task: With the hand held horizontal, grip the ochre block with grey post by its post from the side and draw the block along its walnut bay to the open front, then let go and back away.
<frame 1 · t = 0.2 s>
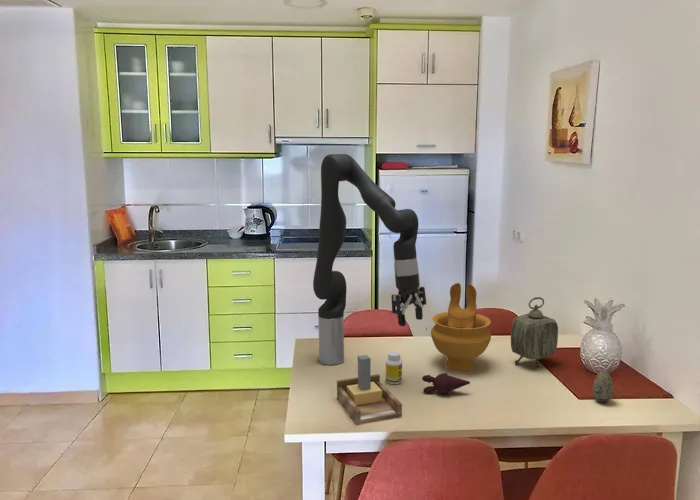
hand: (410, 322, 182), 22 cm above the table, tool pointing down, fingers open, 8 cm apart
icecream: (445, 393, 182), on the table
block with grey post: (364, 378, 174), point 8 cm above the table, slide at 0.0 cm
decorative bowl: (459, 365, 205), on the table
bay: (368, 407, 172), on the table
decorative egg: (602, 402, 175), on the table
supplement bottle: (393, 381, 191), on the table
tabletop clock: (533, 365, 204), on the table
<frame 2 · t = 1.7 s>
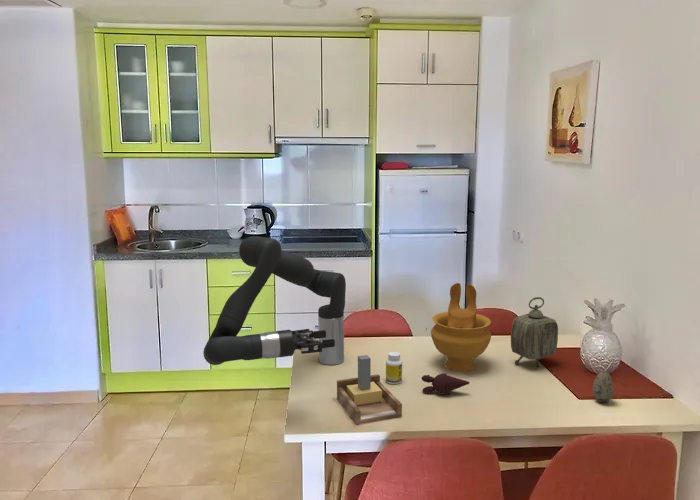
hand: (330, 338, 168), 22 cm above the table, tool horizontal, fingers open, 8 cm apart
nothing on the table moved.
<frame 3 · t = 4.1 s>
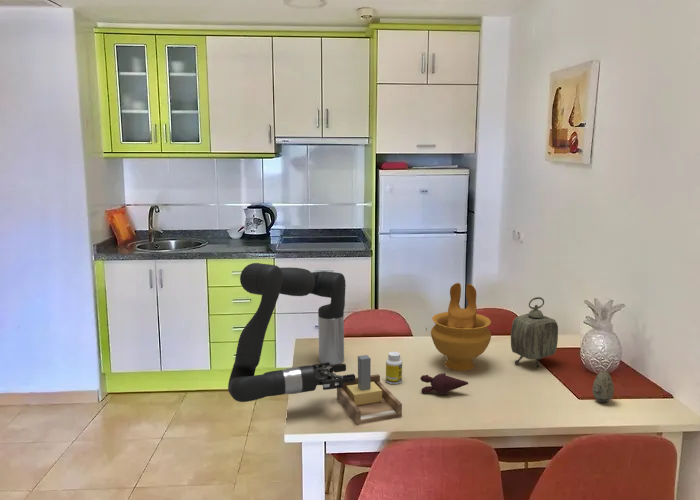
hand: (350, 372, 172), 10 cm above the table, tool horizontal, fingers open, 8 cm apart
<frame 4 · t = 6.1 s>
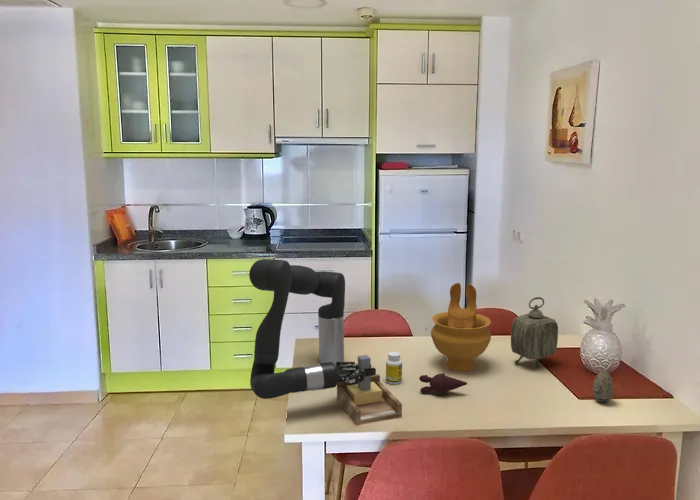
hand: (372, 369, 174), 10 cm above the table, tool horizontal, fingers closed on block with grey post, 3 cm apart
block with grey post: (364, 378, 174), point 8 cm above the table, slide at 0.0 cm, touching gripper
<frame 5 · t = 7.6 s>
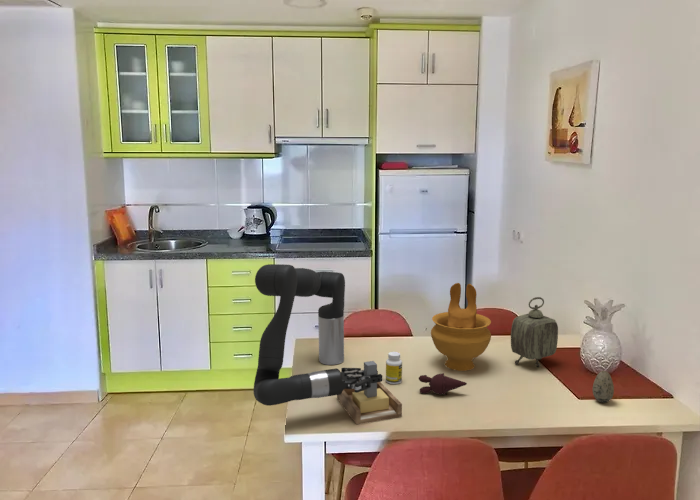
hand: (379, 375, 169), 11 cm above the table, tool horizontal, fingers closed on block with grey post, 3 cm apart
block with grey post: (370, 384, 169), point 8 cm above the table, slide at 5.2 cm, touching gripper
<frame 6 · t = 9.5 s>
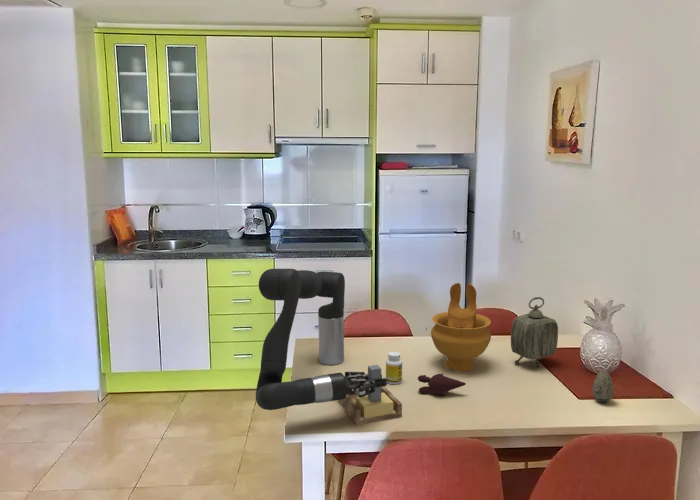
hand: (383, 379, 166), 11 cm above the table, tool horizontal, fingers closed on block with grey post, 3 cm apart
block with grey post: (374, 389, 166), point 8 cm above the table, slide at 8.5 cm, touching gripper
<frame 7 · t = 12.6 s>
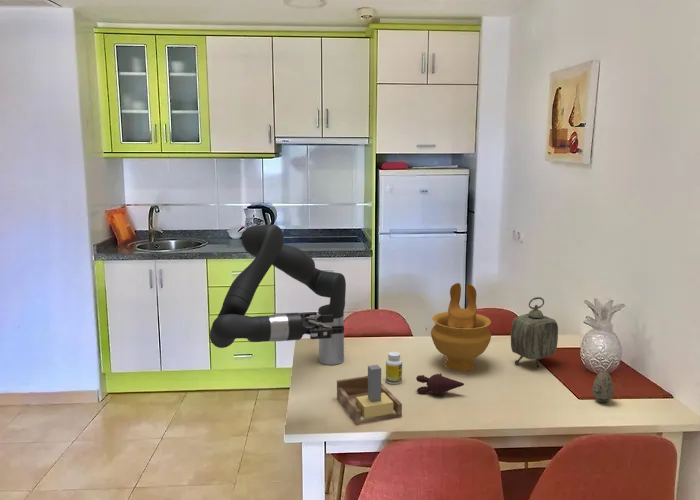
hand: (338, 323, 164), 27 cm above the table, tool horizontal, fingers open, 8 cm apart
block with grey post: (374, 389, 166), point 8 cm above the table, slide at 8.5 cm
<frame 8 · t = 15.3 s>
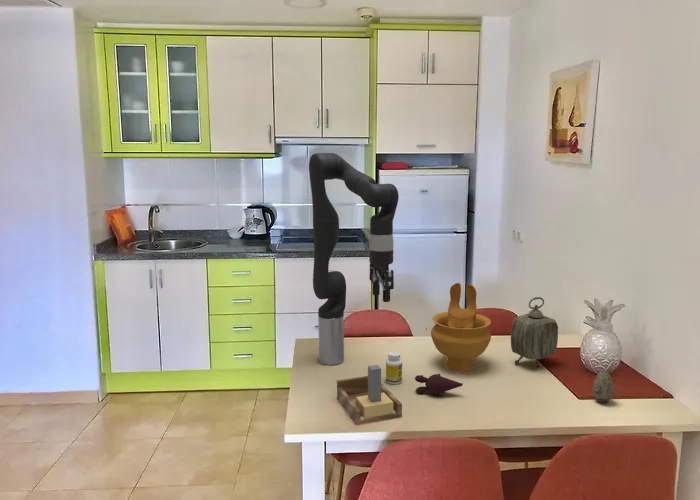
hand: (381, 298, 181), 30 cm above the table, tool pointing down, fingers open, 8 cm apart
at the end: block with grey post slide at 8.5 cm; the gripper is holding nothing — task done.
